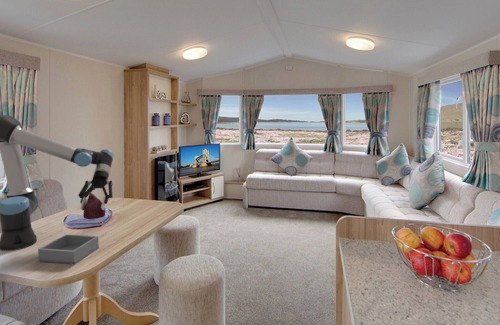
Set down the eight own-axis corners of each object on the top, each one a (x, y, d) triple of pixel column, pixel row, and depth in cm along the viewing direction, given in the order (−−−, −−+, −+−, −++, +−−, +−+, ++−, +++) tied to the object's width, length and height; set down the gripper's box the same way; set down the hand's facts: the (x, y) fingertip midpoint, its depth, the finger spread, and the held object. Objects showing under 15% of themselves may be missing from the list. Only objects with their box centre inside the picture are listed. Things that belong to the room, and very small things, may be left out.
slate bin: (39, 262, 129) (38, 249, 128) (67, 245, 146) (66, 234, 145) (74, 264, 127) (73, 251, 126) (98, 247, 144) (98, 236, 143)
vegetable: (96, 225, 150) (93, 200, 144) (79, 221, 152) (75, 196, 146) (110, 214, 159) (107, 191, 153) (93, 210, 161) (90, 187, 155)
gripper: (123, 177, 169) (116, 212, 155) (83, 177, 165) (72, 212, 152) (120, 169, 163) (112, 205, 149) (78, 169, 159) (66, 205, 146)
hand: (92, 209), depth 151 cm, fingers closed on vegetable, 9 cm apart
